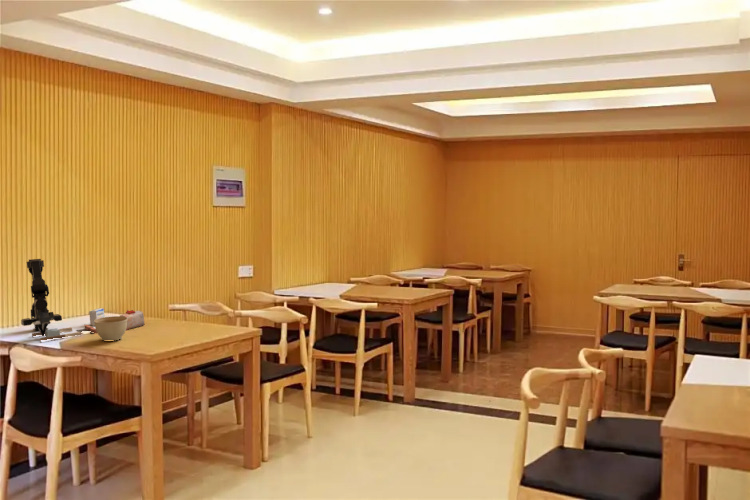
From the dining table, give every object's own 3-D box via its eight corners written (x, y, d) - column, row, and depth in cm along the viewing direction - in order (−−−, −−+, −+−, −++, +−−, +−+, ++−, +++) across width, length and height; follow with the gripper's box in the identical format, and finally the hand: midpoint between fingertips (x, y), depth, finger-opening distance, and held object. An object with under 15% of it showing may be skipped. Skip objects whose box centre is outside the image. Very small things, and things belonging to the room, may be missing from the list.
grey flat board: (32, 336, 374) (32, 333, 373) (87, 328, 392) (87, 324, 391) (40, 342, 361) (40, 338, 360) (97, 333, 379) (97, 329, 378)
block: (45, 337, 372) (44, 330, 372) (57, 335, 376) (56, 328, 375) (48, 339, 367) (47, 332, 367) (60, 337, 371) (59, 330, 371)
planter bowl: (109, 345, 351) (107, 324, 350) (88, 341, 360) (87, 320, 359) (135, 338, 365) (134, 317, 364) (115, 335, 373) (113, 314, 372)
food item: (126, 330, 383) (125, 313, 382) (116, 329, 387) (115, 311, 386) (146, 325, 394) (144, 308, 393) (136, 324, 399) (135, 307, 397)
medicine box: (97, 326, 396) (96, 311, 395) (90, 326, 397) (89, 310, 396) (105, 323, 404) (104, 308, 403) (98, 322, 405) (97, 308, 404)
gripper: (25, 311, 355) (27, 341, 357) (63, 306, 367) (66, 335, 369) (19, 308, 364) (22, 337, 366) (57, 303, 375) (60, 331, 377)
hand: (43, 335), depth 369 cm, fingers closed
